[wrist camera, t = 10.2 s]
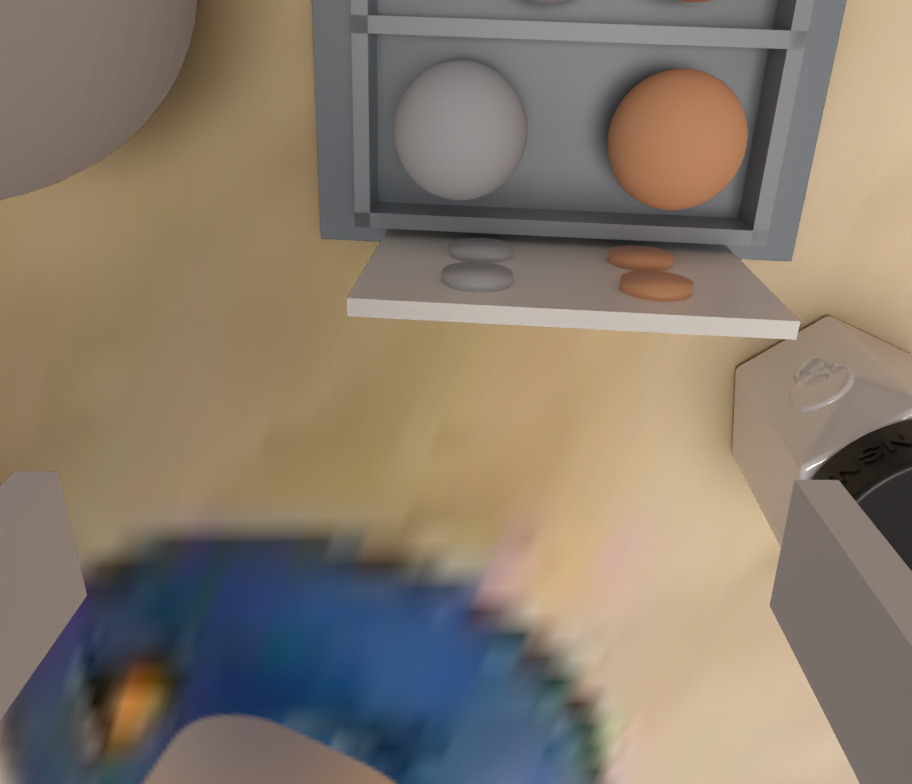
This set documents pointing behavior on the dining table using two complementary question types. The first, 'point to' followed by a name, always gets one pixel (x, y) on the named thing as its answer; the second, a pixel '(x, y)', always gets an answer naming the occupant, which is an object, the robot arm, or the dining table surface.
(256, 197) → the dining table surface
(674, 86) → the terracotta ball
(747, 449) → the jar
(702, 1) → the ball
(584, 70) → the rack
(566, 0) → the grey ball
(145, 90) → the vase
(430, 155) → the grey ball
